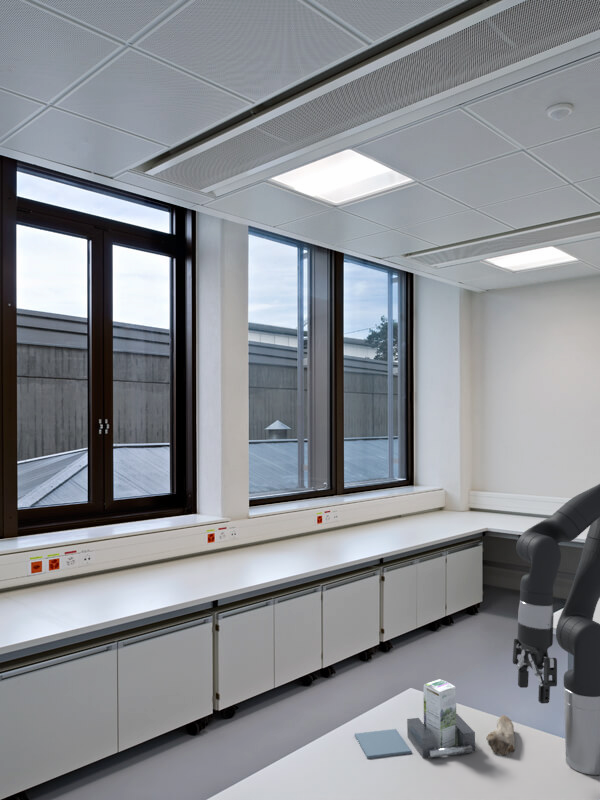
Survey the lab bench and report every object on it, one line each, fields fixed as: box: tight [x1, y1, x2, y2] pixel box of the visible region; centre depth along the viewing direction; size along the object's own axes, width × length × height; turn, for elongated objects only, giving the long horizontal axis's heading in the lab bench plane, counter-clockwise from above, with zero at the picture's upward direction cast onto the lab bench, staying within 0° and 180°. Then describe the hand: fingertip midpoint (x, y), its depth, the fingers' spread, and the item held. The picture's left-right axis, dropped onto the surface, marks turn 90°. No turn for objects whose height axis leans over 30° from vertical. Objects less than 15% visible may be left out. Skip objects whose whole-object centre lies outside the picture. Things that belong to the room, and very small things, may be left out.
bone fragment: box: [485, 714, 516, 756], centre depth 156 cm, size 14×6×5 cm, turn 151°
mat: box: [354, 728, 412, 760], centre depth 156 cm, size 11×11×1 cm
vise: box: [406, 713, 476, 759], centre depth 155 cm, size 13×12×4 cm
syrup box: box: [423, 678, 457, 749], centre depth 156 cm, size 6×6×14 cm
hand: (533, 694), depth 143 cm, fingers open, 8 cm apart
